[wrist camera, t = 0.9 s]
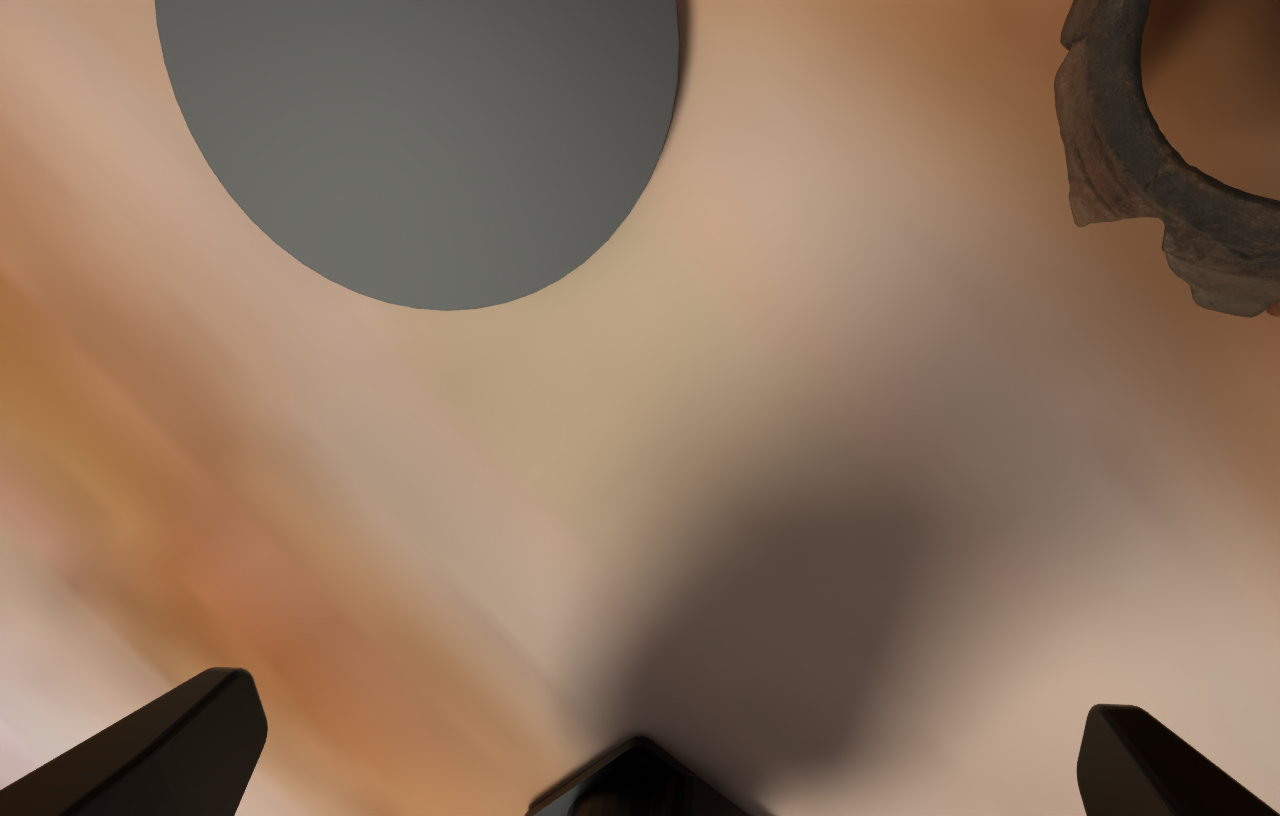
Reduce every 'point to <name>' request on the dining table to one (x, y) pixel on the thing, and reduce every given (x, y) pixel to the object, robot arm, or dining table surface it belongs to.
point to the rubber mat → (429, 132)
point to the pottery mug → (1156, 168)
